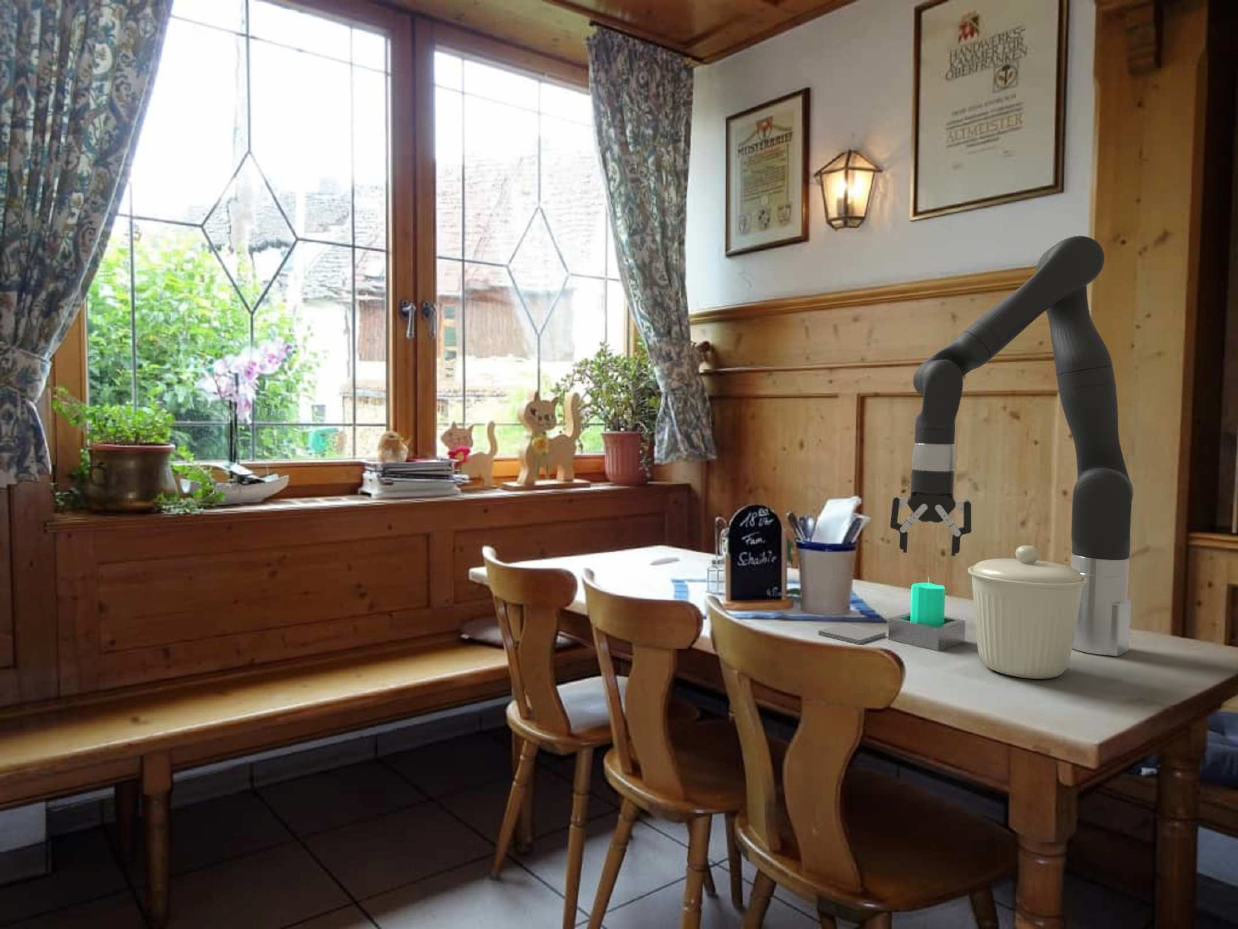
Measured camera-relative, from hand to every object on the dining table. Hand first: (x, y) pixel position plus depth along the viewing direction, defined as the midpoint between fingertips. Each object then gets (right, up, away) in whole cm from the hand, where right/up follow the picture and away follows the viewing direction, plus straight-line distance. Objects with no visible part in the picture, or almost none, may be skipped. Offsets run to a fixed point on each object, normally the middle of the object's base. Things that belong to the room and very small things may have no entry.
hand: (928, 553), depth 162 cm
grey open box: (0, -16, +1) cm, 16 cm away
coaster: (-13, -16, +4) cm, 21 cm away
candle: (0, -17, +1) cm, 17 cm away
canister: (+9, -18, -17) cm, 27 cm away
